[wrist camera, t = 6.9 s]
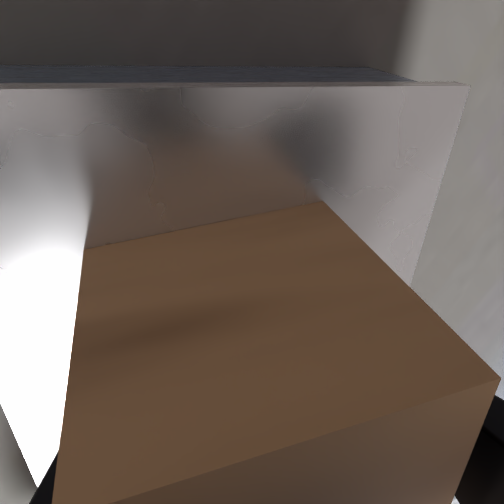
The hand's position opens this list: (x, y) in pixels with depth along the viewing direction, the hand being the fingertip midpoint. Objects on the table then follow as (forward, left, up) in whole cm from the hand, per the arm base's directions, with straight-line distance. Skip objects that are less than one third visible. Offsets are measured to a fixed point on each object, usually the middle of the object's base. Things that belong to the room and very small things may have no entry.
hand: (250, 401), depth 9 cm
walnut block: (0, 0, -3) cm, 3 cm away
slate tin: (0, 0, -8) cm, 8 cm away
